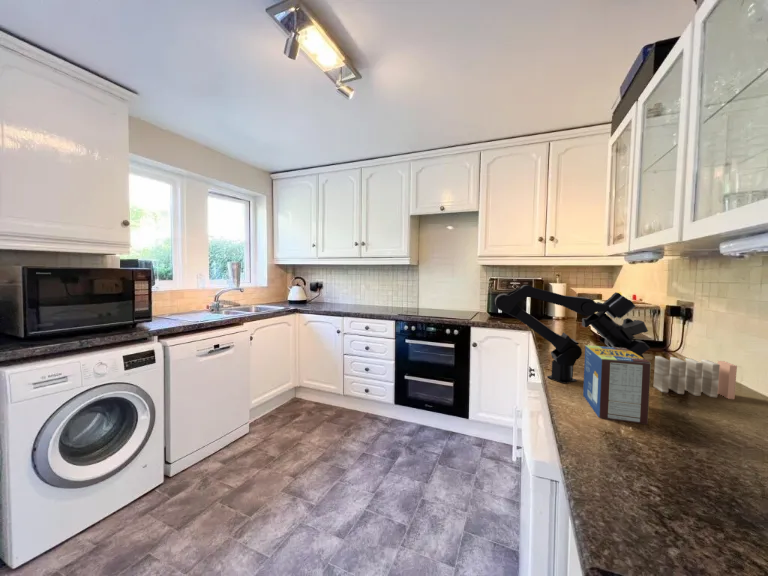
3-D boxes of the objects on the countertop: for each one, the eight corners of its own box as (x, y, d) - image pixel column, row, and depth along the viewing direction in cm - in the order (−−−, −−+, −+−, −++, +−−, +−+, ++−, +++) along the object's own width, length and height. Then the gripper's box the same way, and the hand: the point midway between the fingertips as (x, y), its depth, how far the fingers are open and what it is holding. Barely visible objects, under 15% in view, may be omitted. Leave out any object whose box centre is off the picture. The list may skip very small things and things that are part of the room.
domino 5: (727, 398, 93) (730, 365, 92) (715, 392, 98) (717, 360, 97) (734, 399, 93) (736, 365, 92) (721, 393, 97) (724, 361, 97)
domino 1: (661, 392, 98) (663, 360, 97) (653, 386, 102) (655, 356, 102) (668, 392, 97) (670, 360, 97) (659, 386, 102) (661, 356, 101)
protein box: (623, 400, 91) (626, 347, 90) (648, 425, 76) (652, 362, 76) (582, 395, 94) (584, 344, 93) (598, 418, 80) (601, 358, 79)
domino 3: (693, 395, 95) (696, 362, 95) (683, 389, 100) (685, 358, 99) (700, 395, 95) (702, 363, 94) (689, 389, 100) (692, 358, 99)
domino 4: (710, 396, 94) (712, 364, 94) (699, 390, 99) (701, 359, 98) (717, 397, 94) (719, 364, 93) (705, 391, 98) (707, 359, 98)
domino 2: (677, 393, 96) (679, 361, 96) (668, 387, 101) (670, 357, 101) (684, 394, 96) (686, 362, 95) (674, 388, 101) (676, 357, 100)
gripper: (643, 315, 92) (687, 355, 90) (616, 308, 110) (652, 341, 107) (610, 340, 95) (652, 380, 92) (589, 329, 113) (624, 362, 110)
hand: (645, 364), depth 101 cm, fingers closed
